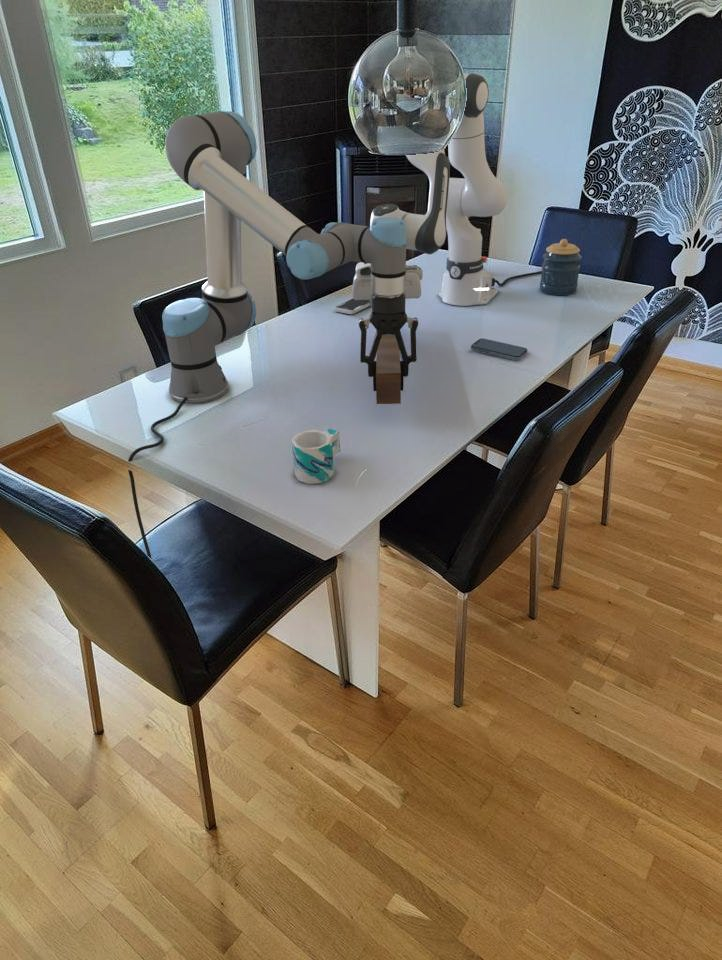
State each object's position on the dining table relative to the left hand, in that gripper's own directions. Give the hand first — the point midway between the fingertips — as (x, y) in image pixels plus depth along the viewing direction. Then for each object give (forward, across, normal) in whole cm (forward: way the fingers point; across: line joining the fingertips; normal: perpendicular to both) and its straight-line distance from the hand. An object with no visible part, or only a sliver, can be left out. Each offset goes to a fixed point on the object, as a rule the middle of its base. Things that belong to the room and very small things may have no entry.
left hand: (388, 388), depth 160 cm
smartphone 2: (+6, -32, -36) cm, 49 cm away
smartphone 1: (+8, +10, -79) cm, 80 cm away
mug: (+6, +15, +26) cm, 31 cm away
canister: (+7, -62, -92) cm, 111 cm away
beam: (+1, 0, -24) cm, 24 cm away
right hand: (-2, 0, -48) cm, 48 cm away
